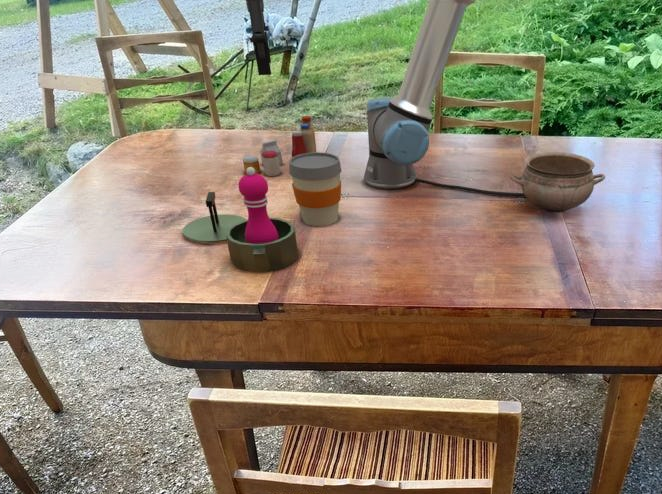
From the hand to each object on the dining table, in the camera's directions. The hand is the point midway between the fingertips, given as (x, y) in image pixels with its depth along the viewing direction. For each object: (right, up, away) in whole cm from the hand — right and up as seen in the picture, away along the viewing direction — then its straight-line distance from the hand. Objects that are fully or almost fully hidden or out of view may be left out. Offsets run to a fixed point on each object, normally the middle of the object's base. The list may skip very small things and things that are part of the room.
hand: (265, 68), depth 138 cm
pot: (0, -44, -2) cm, 44 cm away
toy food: (-7, -7, +49) cm, 50 cm away
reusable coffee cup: (+10, -31, +16) cm, 36 cm away
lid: (-14, -35, +9) cm, 39 cm away
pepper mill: (0, -43, -2) cm, 43 cm away
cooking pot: (+71, -26, +24) cm, 79 cm away
